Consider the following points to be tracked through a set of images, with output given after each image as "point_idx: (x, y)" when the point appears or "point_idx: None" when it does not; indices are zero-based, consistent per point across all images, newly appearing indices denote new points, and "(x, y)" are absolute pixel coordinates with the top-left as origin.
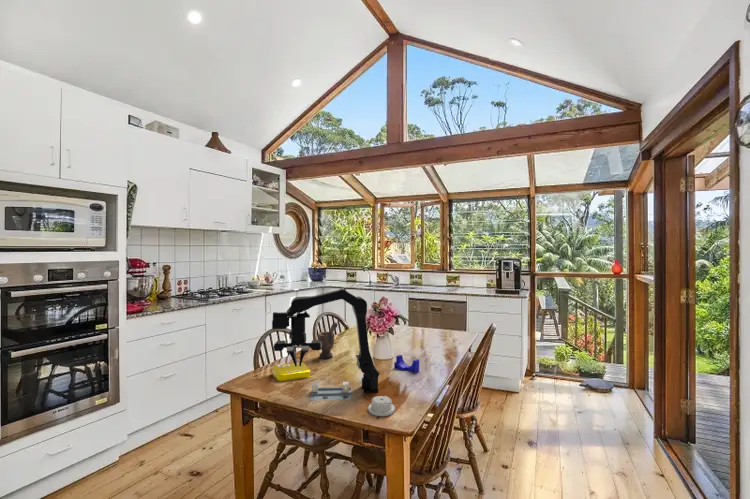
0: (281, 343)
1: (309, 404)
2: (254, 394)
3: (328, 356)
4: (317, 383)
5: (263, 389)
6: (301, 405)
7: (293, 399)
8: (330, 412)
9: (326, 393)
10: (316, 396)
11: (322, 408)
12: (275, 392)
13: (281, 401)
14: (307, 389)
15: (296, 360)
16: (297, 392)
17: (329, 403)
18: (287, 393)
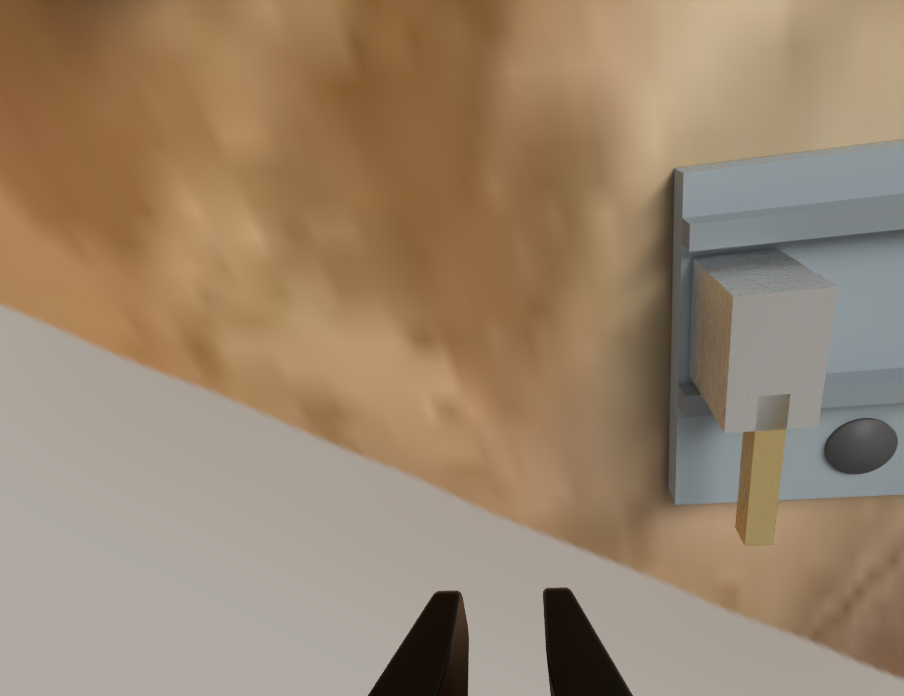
0: None
1: (668, 513)
2: (23, 313)
3: None
4: (815, 345)
5: (22, 163)
6: (592, 530)
7: (482, 416)
8: (870, 639)
9: (892, 399)
10: None
11: (800, 580)
12: (212, 247)
13: (376, 459)
14: (593, 117)
15: None
16: (477, 231)
17: None
18: (364, 268)
